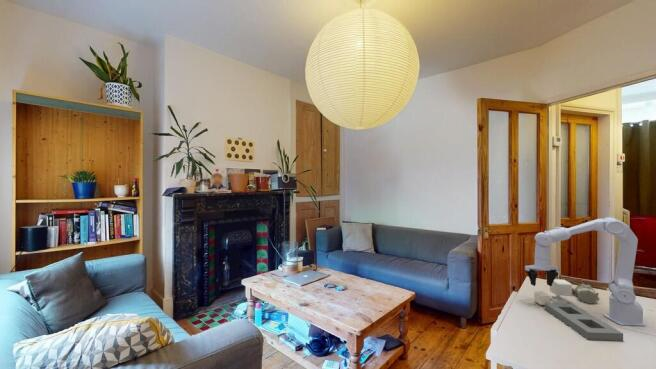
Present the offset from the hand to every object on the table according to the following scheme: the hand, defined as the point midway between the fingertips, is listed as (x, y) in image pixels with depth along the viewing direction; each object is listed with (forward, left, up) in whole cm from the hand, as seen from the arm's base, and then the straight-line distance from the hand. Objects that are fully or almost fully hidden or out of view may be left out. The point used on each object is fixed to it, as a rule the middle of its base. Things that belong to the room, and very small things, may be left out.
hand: (541, 285), depth 131 cm
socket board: (-5, +17, -10) cm, 20 cm away
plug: (-1, 0, -10) cm, 10 cm away
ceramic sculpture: (-26, -8, -10) cm, 29 cm away
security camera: (-12, -5, -10) cm, 16 cm away
